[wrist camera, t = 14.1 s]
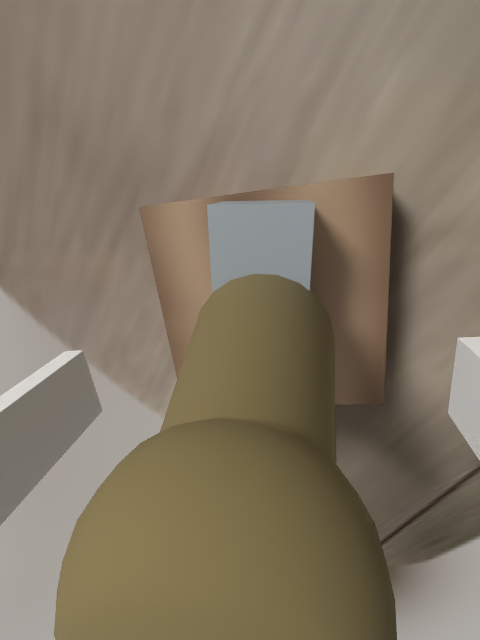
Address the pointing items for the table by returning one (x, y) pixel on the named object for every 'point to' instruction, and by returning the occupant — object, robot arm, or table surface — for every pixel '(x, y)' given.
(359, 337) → the wooden flat board
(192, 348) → the olive ball-ended rod
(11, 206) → the table surface
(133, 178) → the table surface
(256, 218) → the slate-grey block
